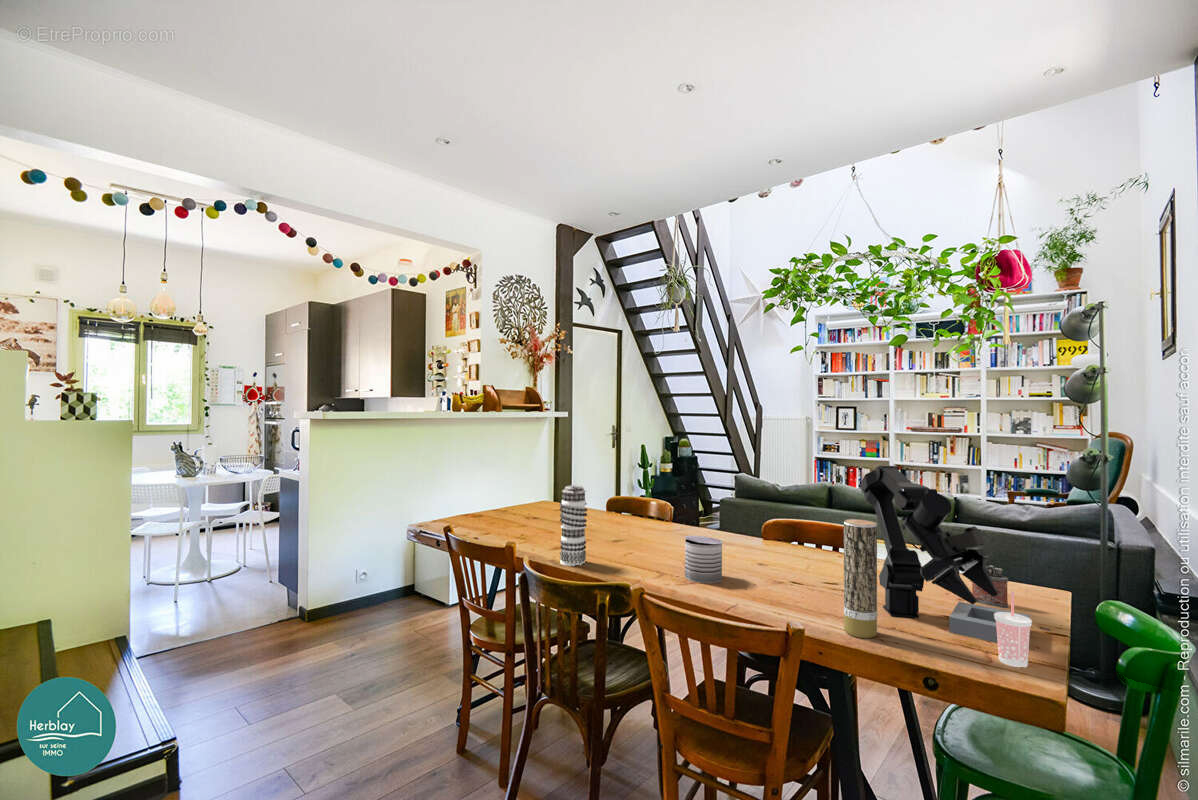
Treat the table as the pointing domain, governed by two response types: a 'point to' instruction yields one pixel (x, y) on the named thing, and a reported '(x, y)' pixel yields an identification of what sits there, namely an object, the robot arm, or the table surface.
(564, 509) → the decorative candle
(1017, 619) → the beverage cup
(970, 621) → the hole block
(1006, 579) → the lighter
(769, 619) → the table surface
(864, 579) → the paper tube
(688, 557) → the can
